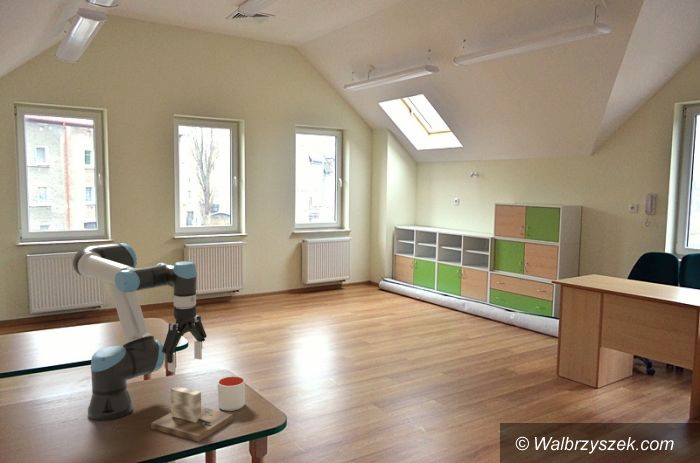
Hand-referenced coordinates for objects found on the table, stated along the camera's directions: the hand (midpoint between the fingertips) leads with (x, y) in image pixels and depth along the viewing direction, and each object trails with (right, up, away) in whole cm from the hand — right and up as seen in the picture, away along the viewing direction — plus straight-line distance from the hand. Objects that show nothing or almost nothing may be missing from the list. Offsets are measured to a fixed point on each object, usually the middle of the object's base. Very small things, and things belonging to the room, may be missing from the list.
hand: (185, 364), depth 191 cm
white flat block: (+3, -19, -1) cm, 19 cm away
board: (+3, -21, 0) cm, 21 cm away
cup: (+13, -20, +15) cm, 28 cm away
